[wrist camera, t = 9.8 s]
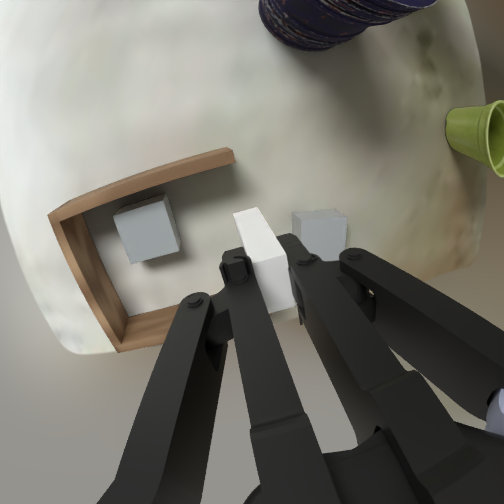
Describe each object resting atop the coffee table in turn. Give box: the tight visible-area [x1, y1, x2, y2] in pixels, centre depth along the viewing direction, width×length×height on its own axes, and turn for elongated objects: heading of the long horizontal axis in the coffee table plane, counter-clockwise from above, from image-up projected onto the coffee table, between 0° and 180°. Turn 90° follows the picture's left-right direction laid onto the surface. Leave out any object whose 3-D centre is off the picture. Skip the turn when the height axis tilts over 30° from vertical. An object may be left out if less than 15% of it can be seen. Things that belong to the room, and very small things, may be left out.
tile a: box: [113, 194, 181, 264], centre depth 26 cm, size 5×5×3 cm
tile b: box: [292, 209, 347, 261], centre depth 30 cm, size 5×5×3 cm
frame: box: [47, 147, 272, 353], centre depth 27 cm, size 16×17×5 cm
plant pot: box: [445, 100, 504, 178], centre depth 25 cm, size 9×9×9 cm
